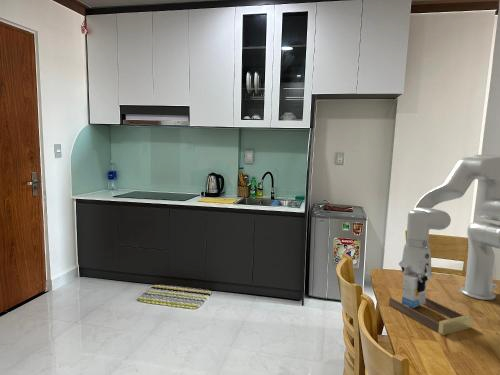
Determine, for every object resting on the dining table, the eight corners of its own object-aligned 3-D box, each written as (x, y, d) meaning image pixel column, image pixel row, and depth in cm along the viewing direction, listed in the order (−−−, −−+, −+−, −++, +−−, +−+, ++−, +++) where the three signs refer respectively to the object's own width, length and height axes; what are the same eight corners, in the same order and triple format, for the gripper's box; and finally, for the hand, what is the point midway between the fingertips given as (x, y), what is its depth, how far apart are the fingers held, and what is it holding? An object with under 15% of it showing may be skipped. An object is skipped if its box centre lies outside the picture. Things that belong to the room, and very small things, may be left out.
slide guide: (415, 299, 141) (416, 290, 140) (471, 327, 119) (472, 316, 119) (389, 305, 135) (389, 295, 135) (442, 335, 114) (443, 323, 113)
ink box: (413, 308, 130) (415, 270, 128) (401, 303, 134) (403, 267, 132) (426, 303, 134) (428, 266, 133) (413, 298, 139) (415, 263, 137)
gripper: (444, 247, 125) (440, 295, 127) (406, 236, 141) (403, 279, 143) (429, 249, 122) (425, 298, 124) (392, 238, 138) (389, 281, 140)
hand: (414, 287), depth 133 cm, fingers closed on ink box, 5 cm apart
